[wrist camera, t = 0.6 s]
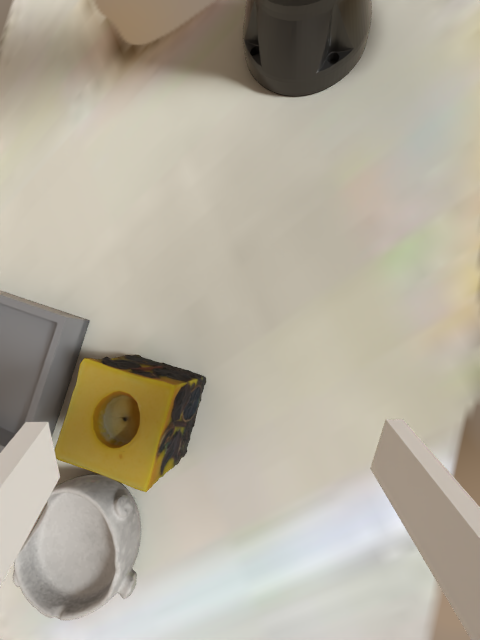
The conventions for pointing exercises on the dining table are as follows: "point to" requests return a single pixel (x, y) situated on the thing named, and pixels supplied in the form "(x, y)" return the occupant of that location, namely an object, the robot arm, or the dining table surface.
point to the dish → (80, 548)
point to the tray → (35, 362)
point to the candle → (129, 418)
